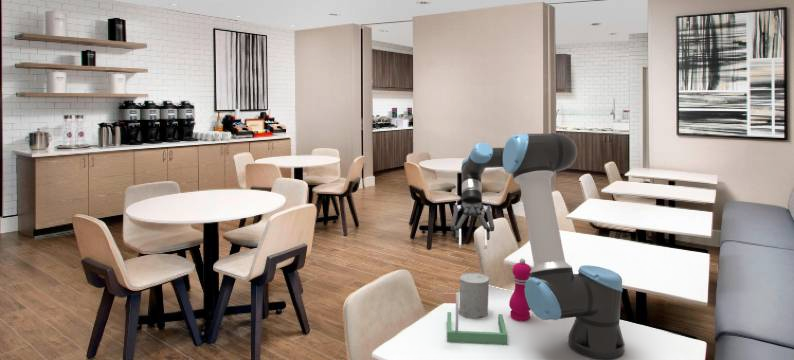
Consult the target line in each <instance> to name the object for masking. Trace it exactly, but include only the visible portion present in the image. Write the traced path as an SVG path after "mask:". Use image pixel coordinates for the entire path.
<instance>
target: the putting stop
mask: <svg viewBox="0 0 794 360" xmlns="http://www.w3.org/2000/svg"><path fill="white" fill-rule="evenodd" d="M442 304H454V305H455V329H454V330H452V312H451V311H448V312H447V315H446V316H447V319H446V322H447V323H446V325H447V326H446V327H447V329H446V330H447V331H446V334H447V335H446V337H447V339H446V340H447V341H446V342H448V343H468V344H486V345H487V344H489V345H491V344H492V345H508V337H509V336H508V331H507V327H506V323H505V320H504V316H503V314H501V313H498V320H497V321H498V322H497V325H498V329H499V332H498V331H497V332H496V331H495V332H494V331H491V332H490V331H475V330H474V331H473V330H472V331H470V330H459V306H460V292H456V293H455V292H454V293H453V292H443V293H442Z"/></svg>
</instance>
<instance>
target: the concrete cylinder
mask: <svg viewBox="0 0 794 360" xmlns="http://www.w3.org/2000/svg"><path fill="white" fill-rule="evenodd" d="M489 282H490V277H489V276H488V275H486V274H482V273H480V272H468V273H467V272H466V273H463V274H461V275H460V276H459V312H458V314H459V316H461V317H463V318H466V319H469V320H480V319H484V318H486V317H488V315H489V289H490V288H489V284H490V283H489Z"/></svg>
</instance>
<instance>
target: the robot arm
mask: <svg viewBox="0 0 794 360" xmlns="http://www.w3.org/2000/svg"><path fill="white" fill-rule="evenodd" d="M577 157H578V147H577V144H576V142H575V141H574V140H573V139H572V138H571V137H570V136H568V135H565V134H564V133H557V132H556V133H555V132H552V133H551V132H550V133H525V132H523V133H519V134H513V135H511V136H510V137H509V138H508V139H507V141H506V143H505V145H504V147H493V146H491V145H490V144H489V143H486V142H477V143H476V144H475V145H474V146H473V148H472V149H471V150H470V153H469V156H468V157H466V158H465V159H463V160H462V163H461V167H460V170H461V204H459V205H457V204H453V215H452V219H451V222H450V230H451V231H454V232H455V239H456V240H458V249H462V226H463V224H464V223H465V220H466V219H467V218H468V217H471V216H473V217H477V219H478V220H479V222H480V224H481V225H482V227H483V247H484V248H483V249H484V250H487V248H488V241H489V240H490V238H491V237H490V236H491V234H490V232H494V231H495V223H494V220H493V216H492V212H491V207H492V206H491V205H490V204H488V205H484V203H483V194H482V192H483V190H482V188H483V187H482V186H483V185H482V175H483V173H484V172H485V170H486V168H487V169H490V168H491V169H493V168H503V169H504V171H505V172H506V173H508V174H509V175H511V174H512V179H513V181H514V183H516V184H517V185H518V186H519V189H520V193H521V197H522V198H521V200H522V204H523V205H522V206H523V210H524V216H525V221H526V227H527V232H528V238H529V239H528V240H529V244H530V251H531V256H532V262H533V267H532V268H531V271H530V277H529V279H528V280H527V281H526V283H525V287H526V288H525V296H526V300H527V303H528V305H529V307H530V309H531V310H530V311H531V313H533V314H534V316H536V317H537V318H538V319H539V320H540V319H541V320H543V321H549V320H553V321H558V320H561V319H569V318H575V319H574V322H573V323H572V325H571V328H570V330H569V333H568V336H567V343H568V346H569V348H570V349H571V350H573V351H574V352H576V353H578V354H580V355H582V356H584V357H588V358H591V359H598V360H614V359H618V358H620V357H621V356H623V355H624V353H625V341H624V337H623V334H622V330H621V326H620V320H621V319H620V318H621V306H622V295H623V294H622V293H623V279H622V277H621V275H620V274H619V273H617V272H616V271H613V270H611V269H609V268H605V267H600V266H597V265H596V266H595V265H585V264H584V265H581V266H579V268H578V270H577V272H578V273H574V272H573V271H574V270H573V266H571V264H569V263H568V262H566V259H565V253H564V249H563V243H562V239H561V234H560V228H559V223H558V216H557V212H556V207H555V202H554V201H555V200H554V198H553V192H552V186H551V182H550V181H551V179H552V177H553V176H554V174H555V173H554V172H560V171H564V170H567V169H569V168H570V167H571V166H573V164H574V163H575V162H576V159H577ZM483 210H484V212H485V213H486V219H487V221H488V222H487V221H486V219H485V218H484V215H483V214H482V211H483ZM459 211H462V215H461V216H460V218H459V220H458V222H457V218H458V213H459ZM456 222H457V224H456Z"/></svg>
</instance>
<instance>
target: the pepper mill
mask: <svg viewBox="0 0 794 360" xmlns="http://www.w3.org/2000/svg"><path fill="white" fill-rule="evenodd" d="M511 270H512V274H513V276H514V277H513V282H514V290H513V293H512V295H511V296H510V299H509V301H508V302H509V303H508V305H509V308H510V309H511V310H510V311H509V312H510V313H509V314H510V315H509V316H510V319H512V320H514V321H517V322H527V321H529V320H530V317H531V312H530V311H531V309H530V307H529V305H528V303H527V300H526V296H525V288H526V287H525V283H526V281H527V280H528V279H529V278H531V276H530V271H531V270H532V268H531V266H530V265H529V264H528V263H526V259H525V258H520V259H519V262H517V263H515V264H514V265H513V267H512V269H511Z"/></svg>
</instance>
